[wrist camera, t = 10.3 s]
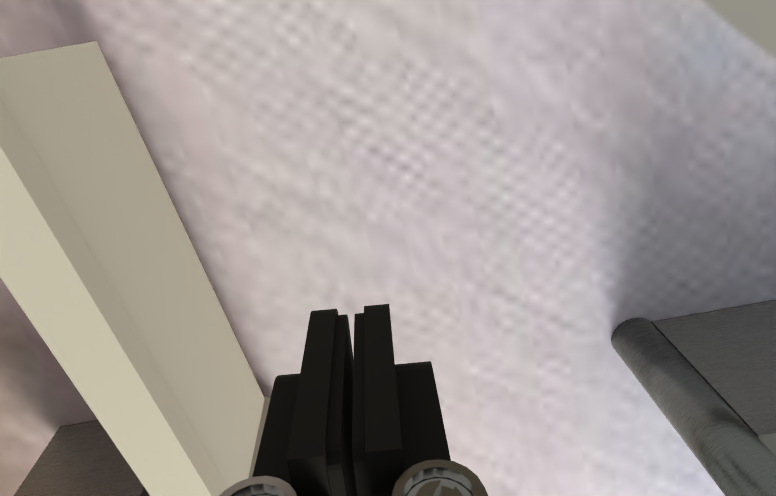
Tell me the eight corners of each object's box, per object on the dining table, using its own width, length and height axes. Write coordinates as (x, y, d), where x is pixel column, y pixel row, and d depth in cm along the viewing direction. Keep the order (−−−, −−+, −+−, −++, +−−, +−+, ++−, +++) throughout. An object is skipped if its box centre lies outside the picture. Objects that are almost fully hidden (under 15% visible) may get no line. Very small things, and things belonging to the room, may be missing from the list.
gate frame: (822, 284, 27) (1129, 471, 17) (813, 321, 28) (1096, 519, 18) (56, 421, 28) (-129, 689, 17) (75, 452, 29) (-87, 722, 18)
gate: (58, 52, 19) (-149, 91, 11) (108, 38, 19) (-65, 68, 11) (248, 426, 28) (208, 597, 20) (282, 417, 28) (256, 587, 20)
